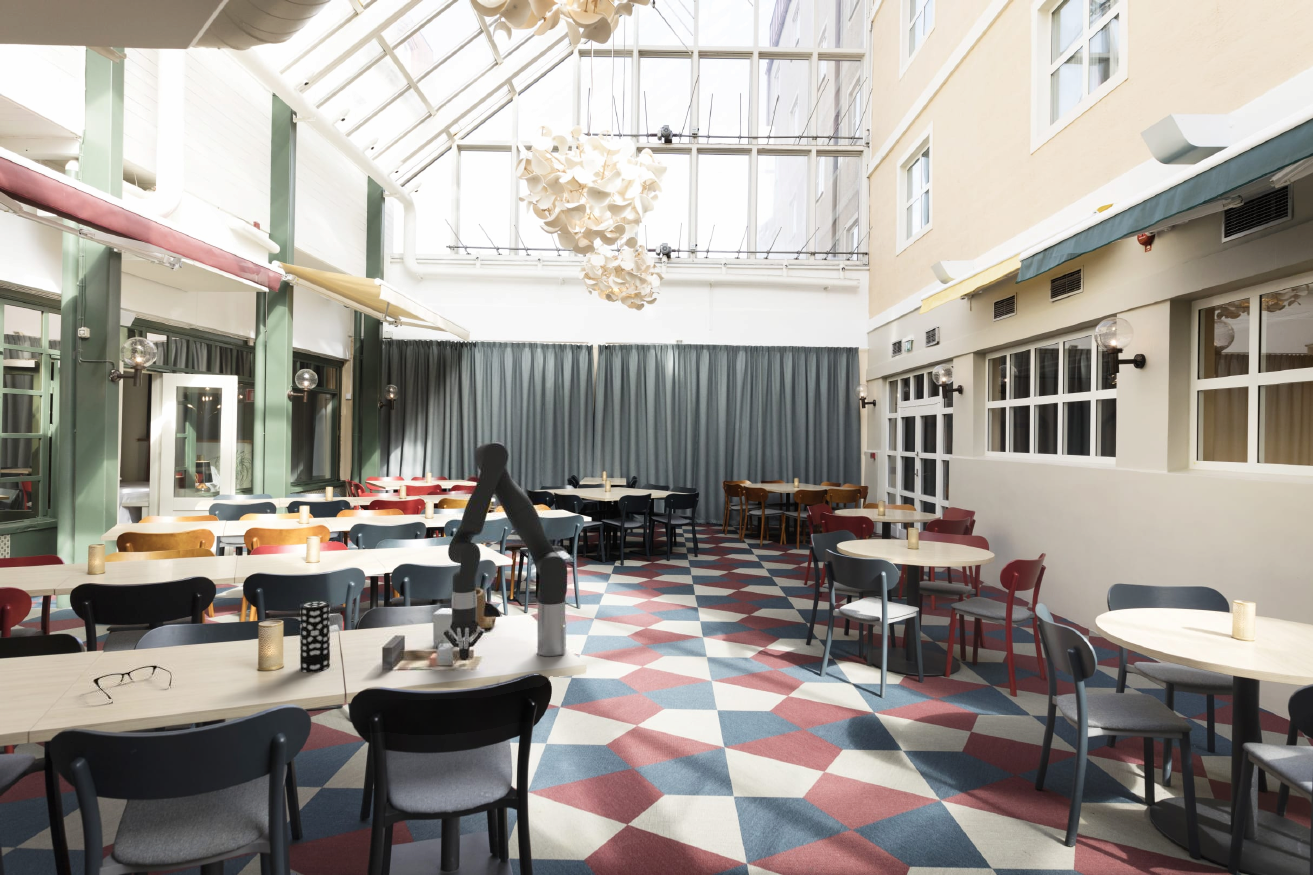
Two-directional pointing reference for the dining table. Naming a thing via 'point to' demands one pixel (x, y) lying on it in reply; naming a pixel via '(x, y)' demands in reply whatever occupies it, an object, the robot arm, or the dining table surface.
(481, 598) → the tan piece
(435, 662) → the pink eraser
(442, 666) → the beige long open tray
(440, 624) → the supplement box
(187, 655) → the dining table surface
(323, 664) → the white-spotted black cylinder
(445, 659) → the carriage
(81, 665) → the dining table surface
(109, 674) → the eyeglasses
